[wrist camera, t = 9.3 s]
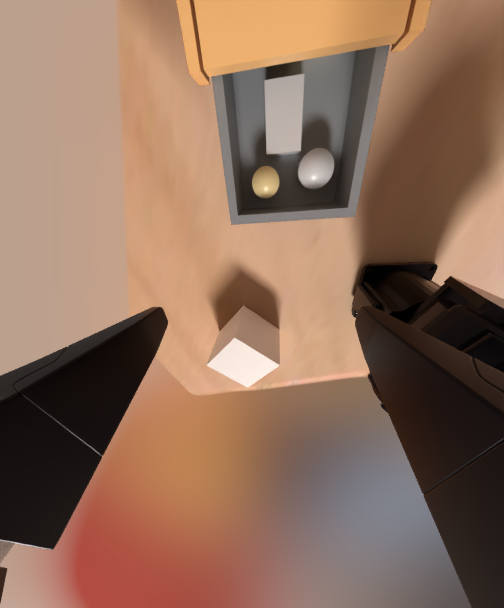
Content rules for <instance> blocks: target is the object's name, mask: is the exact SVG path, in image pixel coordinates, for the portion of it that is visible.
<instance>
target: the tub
mask: <svg viewBox="0 0 504 608" xmlns="http://www.w3.org/2000/svg"><path fill="white" fill-rule="evenodd" d="M389 46H390V45H384V46H379V47H373V48H367V49H362V50H356V51H351V52H345V53H340V54H334V55H328V56H323V57H317V58H312V59H306V60H301V61H295V62H290V63H284V64H278V65H273V66H267V67H262V68H256V69H251V70H245V71H239V72H234V73H228V74H223V75H217V76H212V83H213V90H214V98H215V105H216V113H217V120H218V128H219V136H220V143H221V151H222V158H223V166H224V174H225V181H226V189H227V196H228V204H229V211H230V219H231V225H234V224H249V223H264V222H280V221H295V220H310V219H325V218H340V217H355V215H356V210H357V205H358V200H359V195H360V190H361V185H362V180H363V175H364V170H365V165H366V160H367V155H368V150H369V145H370V140H371V135H372V130H373V126H374V121H375V116H376V111H377V106H378V101H379V96H380V91H381V86H382V81H383V76H384V71H385V66H386V61H387V56H388V51H389Z"/></svg>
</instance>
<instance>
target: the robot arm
mask: <svg viewBox="0 0 504 608" xmlns="http://www.w3.org/2000/svg"><path fill="white" fill-rule="evenodd" d="M431 266H432V267H431ZM429 267H431V268H430V269H428V268H429ZM437 267H438V266H437V265H436V264H435V263H433V262H420V263H390V264H368V265H366V266H365V267H364V268H363V272H362V275H361V279H360V283H359V284H358V285H357V287H356V291H355V295H354V299H353V303H352V305H353V310H352V315H353V316H354V317H355V318H356V321H355V327H356V330H357V334H358V337H359V341H360V344H361V347H362V351H363V354H364V357H365V360H366V362H367V365H368V367H369V371H370V373H369V374H368V379H369V381H370V383H371V385H372V388H373V390H374V392H375V394H376V395H377V397H378V398H379V400H380V401H381V402H382V403H381V407H382V408H383V409H384V410H385V411H386V412H387V413H388V414H389V416H390V418H391V421H392V423H393V425H394V428H395V430H396V432H397V435H398V437H399V439H400V442H401V444H402V446H403V449H404V451H405V453H406V456H407V458H408V460H409V463H410V465H411V467H412V470H413V472H414V474H415V476H416V479H417V481H418V484H419V486H420V488H421V491H422V493H423V494H424V498H425V500H426V503H427V505H428V507H429V510H430V512H431V514H432V517H433V519H434V521H435V524H436V526H437V528H438V531H439V533H440V535H441V538H442V540H443V542H444V545H445V547H446V549H447V552H448V554H449V556H450V559H451V561H452V563H453V566H454V568H455V570H456V573H457V575H458V577H459V580H460V582H461V584H462V587H463V589H464V591H465V594H466V596H467V598H468V601H469V603H470V605H471V608H504V299H502V298H500V297H497V296H495V295H493V294H491V293H488V292H486V291H484V290H481V289H479V288H477V287H475V286H472V285H470V284H468V283H466V282H463V281H461V280H459V279H456V278H454V277H452V276H450V277H449V278H448V279H447V280H446V281H444V283H445V284H444V285H442V286H439V285H438V284H436V283H435V282H433V281H432V278H433V276H434V274H435V272H436V270H437ZM369 268H371V270H370V271H367V270H368V269H369ZM356 313H358V314H356ZM167 325H168V320H167V317H166V315H165V312H164V310H163V308H161V307H152V308H149V309H147V310H145V311H143V312H141V313H139V314H136V315H134V316H132V317H130V318H128V319H126V320H123V321H121V322H119V323H117V324H115V325H113V326H111V327H108V328H106V329H104V330H102V331H100V332H98V333H95V334H93V335H91V336H89V337H87V338H84V339H82V340H80V341H78V342H76V343H74V344H71V345H69V346H68V347H65V348H63V349H61V350H58V351H56V352H54V353H52V354H50V355H47V356H45V357H43V358H41V359H39V360H36V361H34V362H32V363H29V364H27V365H25V366H22V367H20V368H18V369H15V370H13V371H10V372H8V373H6V374H3V375H1V376H0V563H1V562H2V560H3V559H4V557H5V556H6V555H7V554H8V552H9V551H10V549H11V548H12V547H13V545H14V544H15V543H16V544H22V545H27V546H32V547H38V548H43V549H49V550H53V549H54V547H55V546H56V544H57V543H58V541H59V539H60V537H61V535H62V533H63V532H64V530H65V528H66V526H67V524H68V522H69V520H70V518H71V516H72V514H73V512H74V510H75V509H76V507H77V505H78V503H79V501H80V499H81V497H82V495H83V493H84V491H85V489H86V487H87V485H88V484H89V482H90V480H91V478H92V476H93V474H94V472H95V470H96V468H97V466H98V464H99V462H100V461H101V458H102V456H103V454H104V453H105V451H106V449H107V447H108V445H109V443H110V441H111V439H112V437H113V435H114V433H115V432H116V430H117V428H118V426H119V424H120V422H121V420H122V418H123V416H124V414H125V412H126V410H127V409H128V407H129V404H130V403H131V401H132V399H133V397H134V395H135V393H136V391H137V389H138V387H139V386H140V383H141V382H142V380H143V378H144V376H145V374H146V372H147V370H148V368H149V366H150V364H151V363H152V360H153V359H154V357H155V355H156V353H157V351H158V348H159V346H160V343H161V341H162V338H163V336H164V333H165V331H166V328H167ZM6 572H7V568H4V567H0V602H1V597H2V592H3V587H4V582H5V577H6Z"/></svg>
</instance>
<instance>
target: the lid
mask: <svg viewBox="0 0 504 608" xmlns="http://www.w3.org/2000/svg"><path fill="white" fill-rule="evenodd" d="M176 1H177V7H178V12H179V18H180V24H181V30H182V35H183V41H184V47H185V53H186V58H187V64H188V70H189V73H190V74H191V76H192V77H193V78H194V79H195V81H196V82H197V83H198V84H199V85H206V84H210V83H209V77H212V76H217V75H223V74H228V73H234V72H239V71H245V70H251V69H256V68H262V67H267V66H273V65H278V64H284V63H290V62H295V61H301V60H306V59H312V58H317V57H323V56H328V55H334V54H340V53H345V52H351V51H356V50H362V49H367V48H373V47H379V46H384V45H390V44H392V48H391V52H396V51H401V50H404V49H405V48H406V47H407V46H408V45H409V44H410V43H411V42H412V41H413V40H414V39H415V38H416V37H417V36H418V35H419V34H420V33H421V32H422V31H423V30H424V28H425V25H426V21H427V17H428V13H429V9H430V5H431V1H432V0H176Z"/></svg>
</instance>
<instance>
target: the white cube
mask: <svg viewBox="0 0 504 608" xmlns="http://www.w3.org/2000/svg"><path fill="white" fill-rule="evenodd" d="M279 365H280V351H279V329H278V328H276V327H275V326H273V325H272V324H271V323H269V322H268V321H266V320H265V319H263V318H262V317H260V316H259V315H257V314H256V313H254V312H253V311H251V310H250V309H248V308H247V307H245V306H244V305H243V306H242V307H241V309H240V310H239V311H238V312H237V313H236V314H235V315H234V316H233V317H232V318H231V319H230V321H229V322H228V323H227V324H226V325H225V326H224V327H223V328H222V329H221V330H220V332H219V334H218V337H217V339H216V342H215V345H214V347H213V350H212V352H211V355H210V358H209V360H208V363H207V366H209V367H211V368H212V369H214V370H216V371H218V372H220V373H222V374H223V375H225V376H227V377H229V378H231V379H233V380H234V381H236V382H238V383H240V384H242V385H244V386H245V387H247V388H248V387H249V386H251V385H252V384H254V383H255V382H256V381H258V380H259V379H261V378H262V377H264V376H265V375H266V374H268V373H269V372H271V371H272V370H274V369H275V368H277V367H278V366H279Z"/></svg>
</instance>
